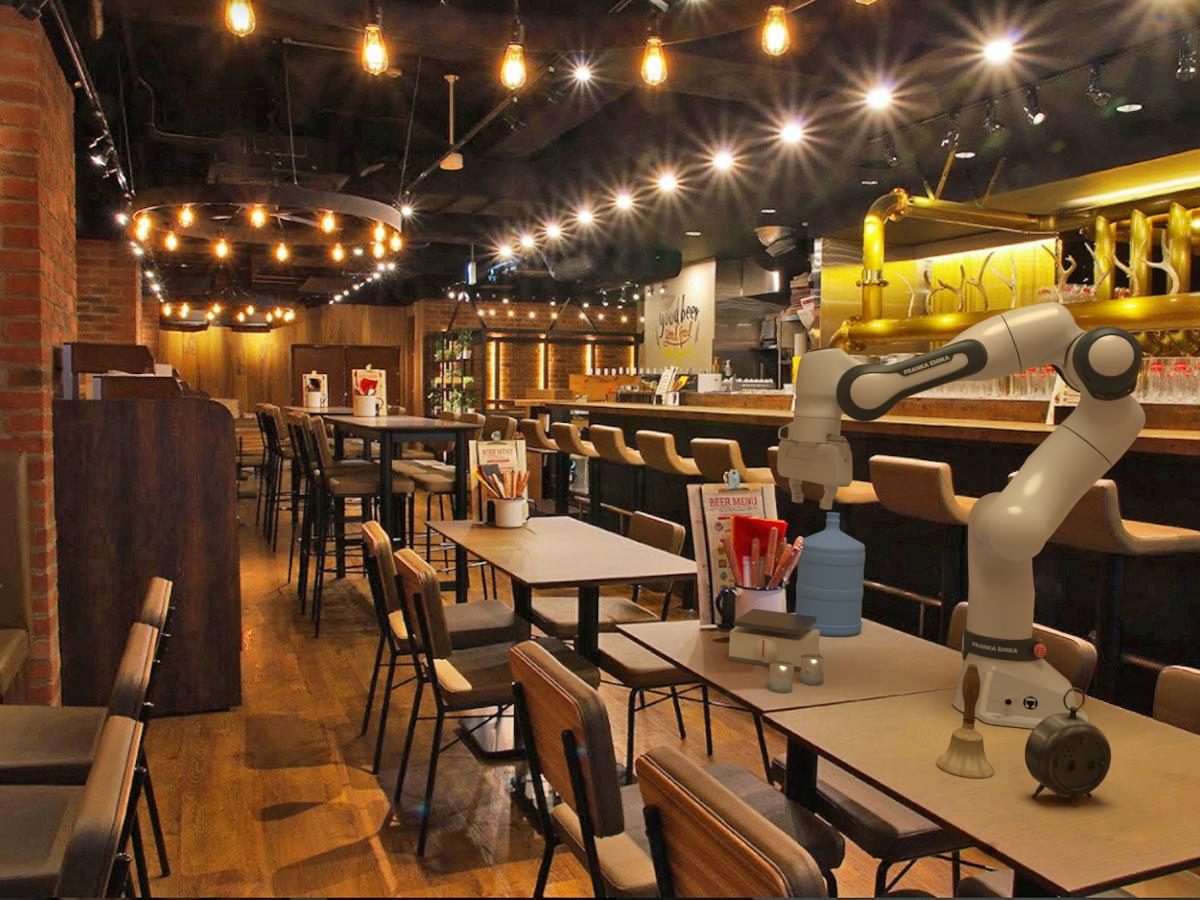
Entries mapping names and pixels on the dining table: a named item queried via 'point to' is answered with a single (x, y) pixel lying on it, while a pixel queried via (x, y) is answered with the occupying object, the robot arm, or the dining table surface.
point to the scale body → (771, 646)
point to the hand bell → (967, 736)
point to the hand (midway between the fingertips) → (811, 505)
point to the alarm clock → (1067, 754)
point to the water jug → (831, 580)
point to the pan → (775, 621)
